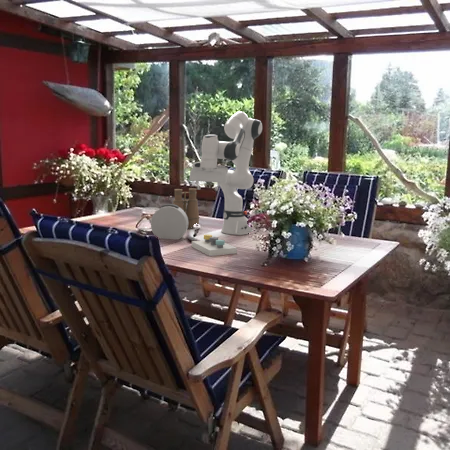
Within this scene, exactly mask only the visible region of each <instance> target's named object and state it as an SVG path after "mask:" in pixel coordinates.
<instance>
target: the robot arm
mask: <svg viewBox="0 0 450 450" xmlns="http://www.w3.org/2000/svg"><path fill="white" fill-rule="evenodd" d="M223 128H224V133H225V135H226V136H227V137H228V138H230V139H232V141H223V140H219V139H218V135H217V134H212V133H211V134H209V133H208V134H205V135H203V137H202V140H201V141H202V142H201V150H200V151H201V157H200V161H196V162H193V163H192V164H191V165H192V167H191V169H190V173H189V181H192V182H195V185H196V187H197V190H201V186H200V185H199V182H206V183H217V186H215V187H214V191H216V192H218V189H219V187H220V188H221V190H222V193H223V197H224V209H223V223H222V228H221V231H220V232H221V233H223V234H226V235H236V236H243V235H244V236H245V235H249V234H248V233H250V232H252V231H253V229H254V228H253V229H252V228H251V227H249V226H248V224H247V221H248V220H249V218H247V217H246V216H247V215H248V214H247V212H248V210H247V211H246V210H245V211H244V209H243V197H242V195H240V193H238V190H249V189H251V188H252V186H253V184H254V180H255V179H254V176H253V174H252V172H251V171H250V166H249V164H250V160H251V157H252V156H251V155H252V152H253V148H254V142H255V140H256V139H257V138H259V136H260V135H261V134H262V133H263V123H262V121H261V120H259V119H257V118H251V117H248V114H246V113H245V112H244V111H242V110H239V111H236V112H235V113H233V114H232V115H231V116H230V117H228V119H227V120H226V122H225V124H224V126H223ZM218 159H219V160H220V159H221V160H229V161H231V162H232V163H233V164H234V165H235V169H234V170H233V169H229V168H228V166H226V165H220V164H218ZM237 189H238V190H237ZM245 215H246V216H245Z"/></svg>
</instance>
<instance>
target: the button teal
mask: <svg viewBox="0 0 450 450" xmlns="http://www.w3.org/2000/svg"><path fill="white" fill-rule="evenodd" d="M225 243H226V241H225V240H224V239H218V240H216V245H217V248H223V245H224V244H225Z"/></svg>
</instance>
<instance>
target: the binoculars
mask: <svg viewBox="0 0 450 450" xmlns="http://www.w3.org/2000/svg"><path fill="white" fill-rule="evenodd" d="M173 190H174V193H173V194H174V199H173V200H172V204H174V205H177V206H179V207H180V208H181V209H182V210H183V211H184V212H185V213H186V215H187V217H188V222H189V224H188V229H192V228H191V227H193V225H194V224H196V223H197V224H199V225H200V219H201V218H200V214H199V213H200V212H199V205H198V201H199V200H198V198H197V193H198V192H197V190H198V188H192V187H191V188H188V191H183V189H182V188H181V189H180V188H174V189H173ZM183 194H184V196H183ZM186 194H188V199H186V196H187V195H186ZM183 197H184V198H183Z"/></svg>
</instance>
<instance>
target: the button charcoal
mask: <svg viewBox="0 0 450 450" xmlns="http://www.w3.org/2000/svg"><path fill="white" fill-rule="evenodd" d="M216 240H219V237H217V236H212V237H210V240H209V241H210V242H211V245H216Z"/></svg>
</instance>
